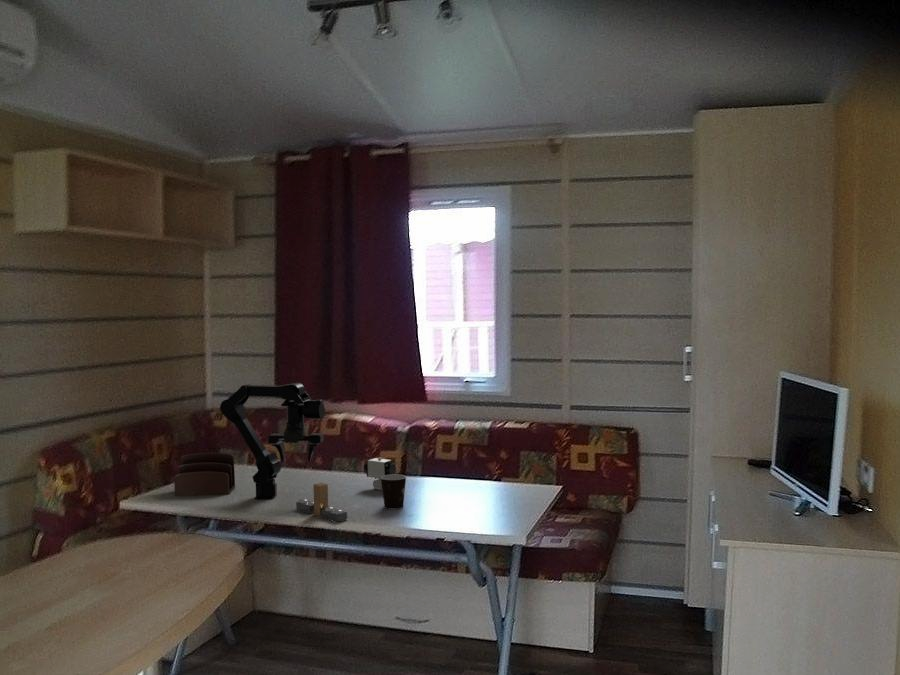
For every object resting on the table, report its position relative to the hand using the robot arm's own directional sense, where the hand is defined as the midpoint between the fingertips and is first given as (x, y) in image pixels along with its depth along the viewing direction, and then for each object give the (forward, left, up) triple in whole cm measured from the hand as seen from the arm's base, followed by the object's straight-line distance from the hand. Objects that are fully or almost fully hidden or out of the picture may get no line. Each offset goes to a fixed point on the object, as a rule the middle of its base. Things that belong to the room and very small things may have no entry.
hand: (296, 462), depth 280 cm
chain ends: (+13, -21, -13) cm, 28 cm away
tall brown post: (+13, -21, -13) cm, 28 cm away
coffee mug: (+35, -12, -13) cm, 39 cm away
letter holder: (-37, +10, -13) cm, 41 cm away
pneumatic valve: (+28, +14, -13) cm, 34 cm away
